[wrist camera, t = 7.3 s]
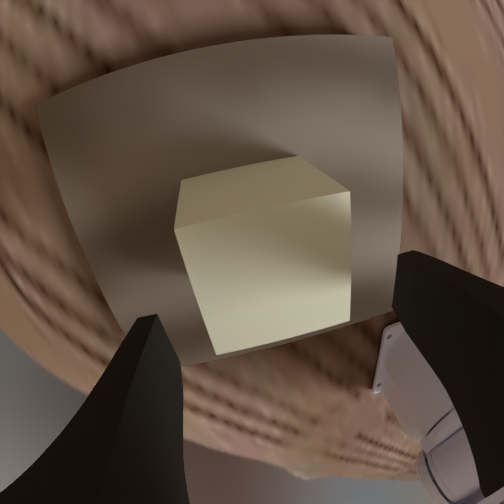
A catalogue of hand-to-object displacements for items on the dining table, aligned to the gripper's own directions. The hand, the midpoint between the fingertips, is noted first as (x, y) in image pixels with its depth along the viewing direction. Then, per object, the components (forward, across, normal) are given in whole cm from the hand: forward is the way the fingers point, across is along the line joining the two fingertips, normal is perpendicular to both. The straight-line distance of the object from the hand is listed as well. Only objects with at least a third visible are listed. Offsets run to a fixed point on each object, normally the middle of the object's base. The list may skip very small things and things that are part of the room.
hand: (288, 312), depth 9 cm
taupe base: (+9, 0, 0) cm, 9 cm away
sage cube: (+6, 0, 0) cm, 6 cm away
